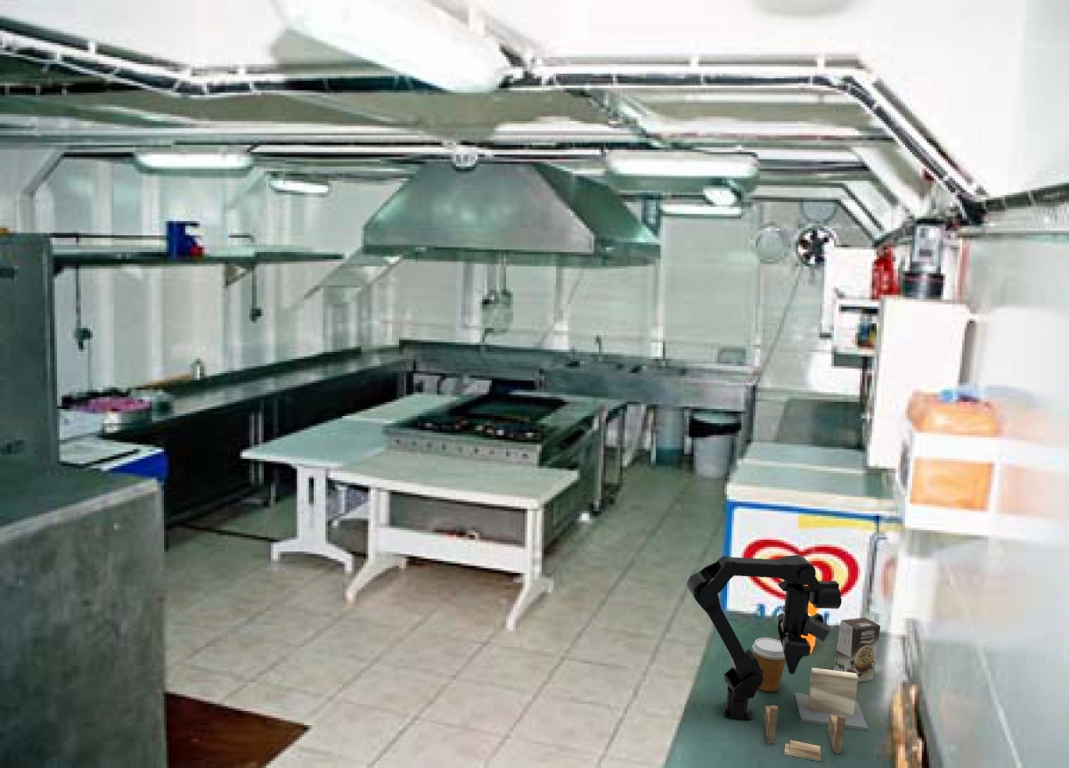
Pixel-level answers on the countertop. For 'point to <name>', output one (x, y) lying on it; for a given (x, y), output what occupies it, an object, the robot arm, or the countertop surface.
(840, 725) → the light wood rack
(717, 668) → the countertop surface
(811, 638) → the orange juice
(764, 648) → the disposable coffee cup
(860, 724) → the rubber mat
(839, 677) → the cream flat block
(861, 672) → the cookie box
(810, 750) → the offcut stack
